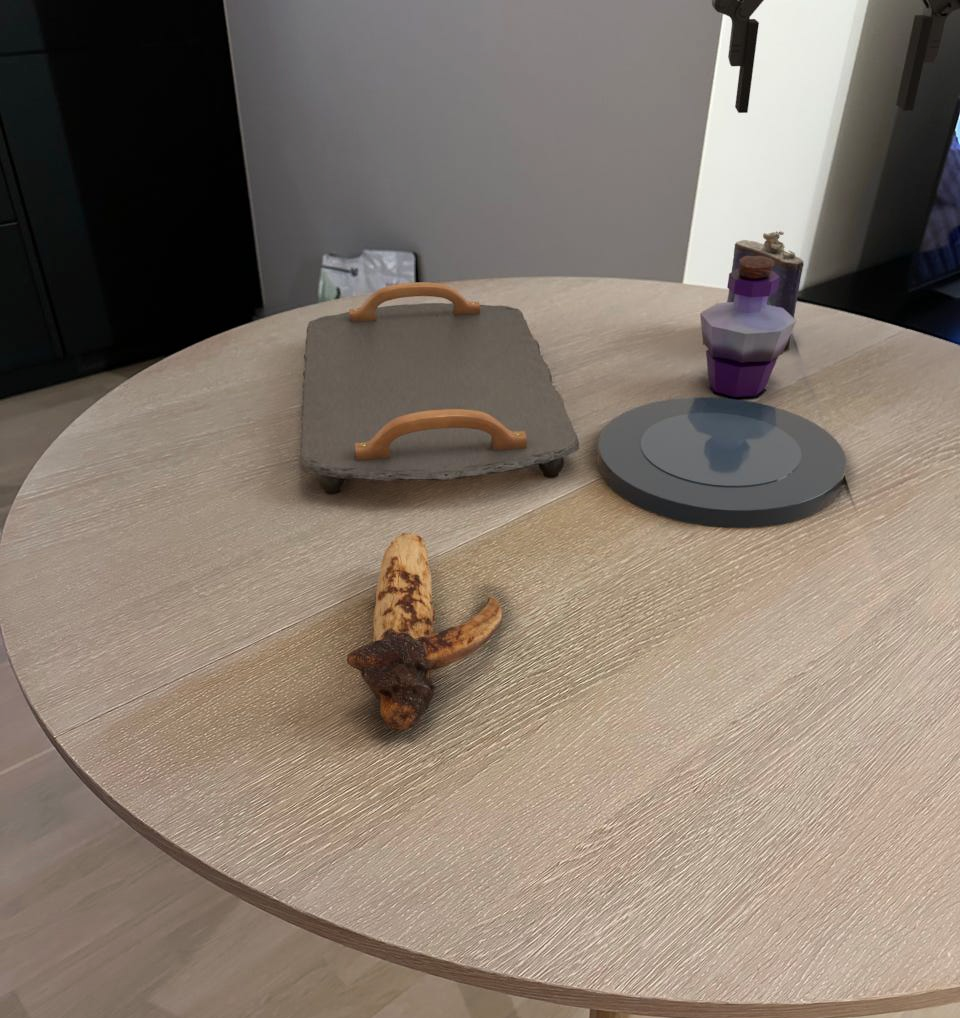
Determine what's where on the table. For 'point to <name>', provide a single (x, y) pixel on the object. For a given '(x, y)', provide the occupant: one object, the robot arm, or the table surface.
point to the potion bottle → (745, 332)
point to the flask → (784, 267)
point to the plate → (721, 462)
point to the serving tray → (428, 392)
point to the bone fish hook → (413, 635)
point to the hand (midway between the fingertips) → (822, 109)
